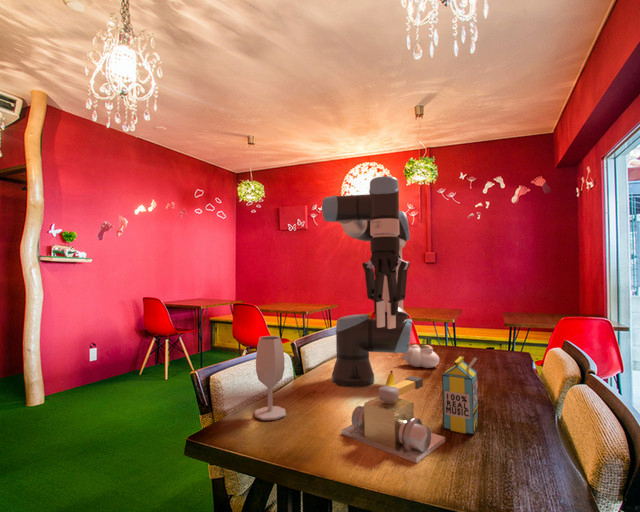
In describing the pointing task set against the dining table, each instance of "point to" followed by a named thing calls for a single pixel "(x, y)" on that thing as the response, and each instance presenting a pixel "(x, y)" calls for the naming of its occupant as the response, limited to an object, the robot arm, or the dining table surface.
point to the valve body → (392, 429)
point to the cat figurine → (421, 356)
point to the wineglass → (270, 373)
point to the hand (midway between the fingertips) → (386, 327)
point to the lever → (400, 388)
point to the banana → (390, 379)
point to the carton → (460, 398)
